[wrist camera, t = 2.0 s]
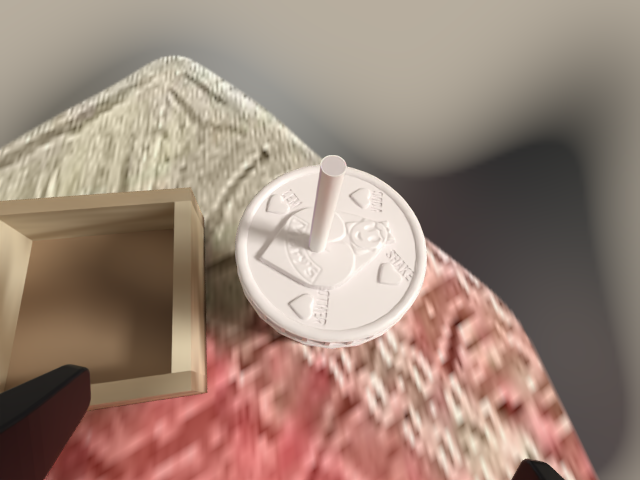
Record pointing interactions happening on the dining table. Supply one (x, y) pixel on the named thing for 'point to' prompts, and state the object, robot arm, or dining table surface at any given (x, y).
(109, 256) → the cup holder
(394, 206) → the smoothie
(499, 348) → the dining table surface
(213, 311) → the dining table surface
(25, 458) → the robot arm
